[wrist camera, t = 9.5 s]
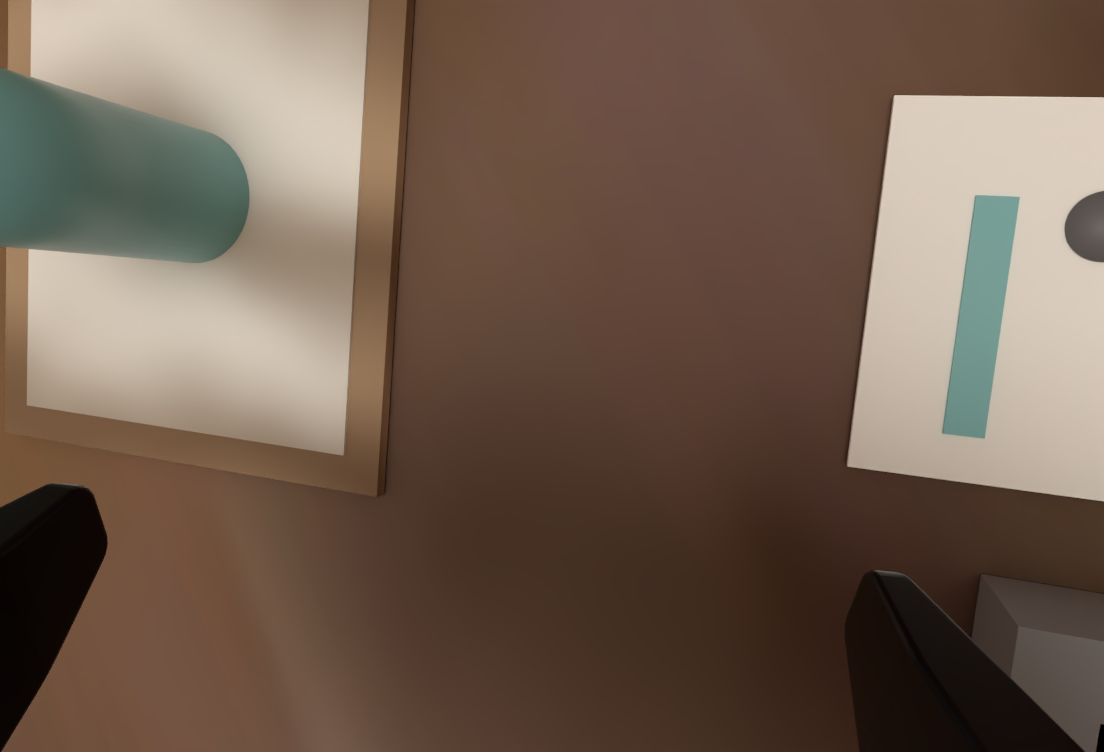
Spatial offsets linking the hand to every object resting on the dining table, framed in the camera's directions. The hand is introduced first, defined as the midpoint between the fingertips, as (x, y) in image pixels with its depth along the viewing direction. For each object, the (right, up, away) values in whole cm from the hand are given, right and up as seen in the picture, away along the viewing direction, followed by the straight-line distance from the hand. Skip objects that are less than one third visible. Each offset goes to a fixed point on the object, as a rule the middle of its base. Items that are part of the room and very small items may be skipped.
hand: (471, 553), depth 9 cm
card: (+11, +4, +7) cm, 14 cm away
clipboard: (-9, +7, +13) cm, 18 cm away
